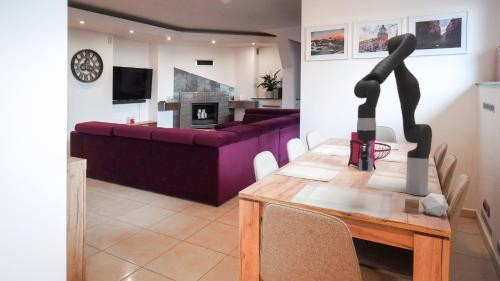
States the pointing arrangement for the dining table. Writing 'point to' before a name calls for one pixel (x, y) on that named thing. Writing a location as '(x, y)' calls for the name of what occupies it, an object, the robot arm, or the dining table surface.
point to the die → (435, 204)
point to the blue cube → (370, 165)
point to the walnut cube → (412, 206)
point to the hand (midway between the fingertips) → (365, 169)
